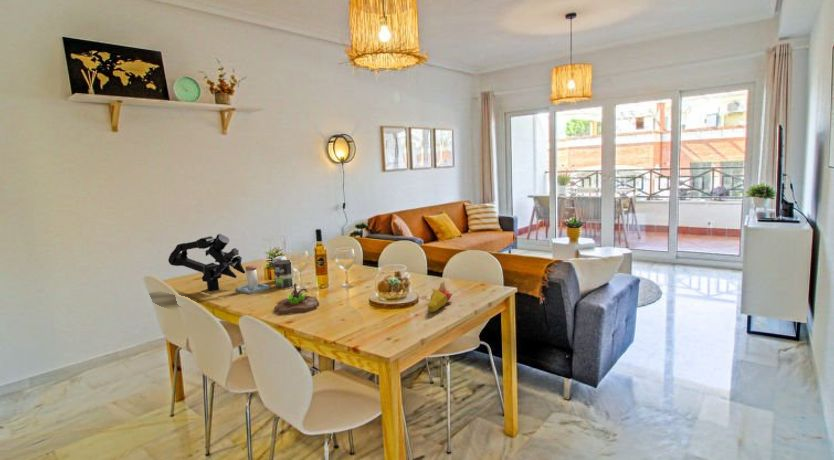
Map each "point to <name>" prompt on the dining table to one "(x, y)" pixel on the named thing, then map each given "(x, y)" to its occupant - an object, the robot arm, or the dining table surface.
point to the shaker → (251, 277)
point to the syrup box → (279, 258)
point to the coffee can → (283, 274)
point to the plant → (297, 303)
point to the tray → (260, 288)
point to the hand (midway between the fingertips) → (240, 275)
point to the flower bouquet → (439, 297)
